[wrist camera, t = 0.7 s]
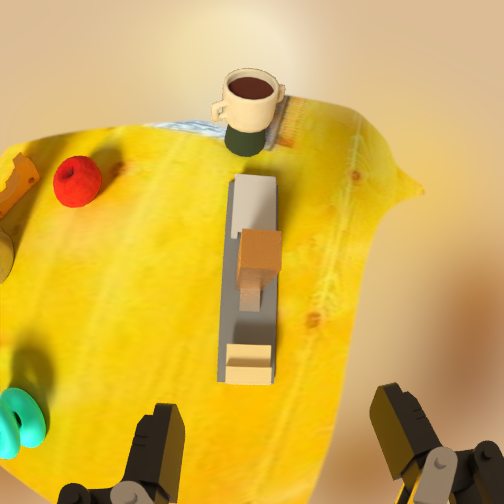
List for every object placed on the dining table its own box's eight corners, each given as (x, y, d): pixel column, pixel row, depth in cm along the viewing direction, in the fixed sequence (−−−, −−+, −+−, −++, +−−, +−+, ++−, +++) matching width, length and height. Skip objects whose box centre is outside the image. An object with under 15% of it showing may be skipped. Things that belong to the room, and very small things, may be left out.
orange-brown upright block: (241, 188, 40) (247, 134, 29) (266, 190, 40) (280, 137, 29) (234, 311, 35) (238, 299, 24) (262, 312, 35) (280, 301, 24)
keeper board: (229, 185, 41) (229, 166, 37) (276, 188, 42) (282, 170, 37) (217, 380, 34) (216, 387, 29) (272, 382, 34) (279, 389, 29)
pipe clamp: (35, 165, 40) (18, 146, 34) (41, 178, 39) (23, 160, 33) (-6, 207, 37) (-25, 193, 31) (-2, 222, 36) (-22, 208, 30)
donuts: (18, 431, 20) (6, 473, 17) (56, 416, 29) (40, 455, 26) (-26, 376, 20) (-36, 423, 17) (14, 374, 30) (1, 414, 27)
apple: (118, 183, 40) (102, 156, 33) (89, 225, 38) (66, 204, 31) (86, 165, 41) (69, 139, 34) (58, 203, 38) (36, 182, 31)
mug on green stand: (263, 119, 46) (274, 61, 33) (284, 148, 44) (303, 91, 32) (203, 139, 43) (199, 79, 31) (222, 172, 42) (223, 113, 30)
